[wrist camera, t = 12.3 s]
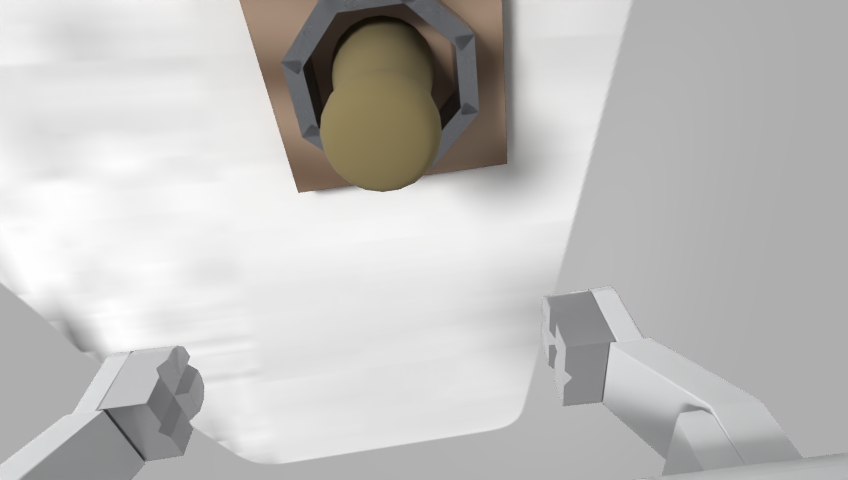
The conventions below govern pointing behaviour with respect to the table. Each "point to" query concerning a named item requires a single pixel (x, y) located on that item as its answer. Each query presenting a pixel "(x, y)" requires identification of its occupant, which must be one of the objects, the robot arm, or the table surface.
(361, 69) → the cork
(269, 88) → the walnut base
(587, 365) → the robot arm
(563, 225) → the table surface
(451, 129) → the metal collar
